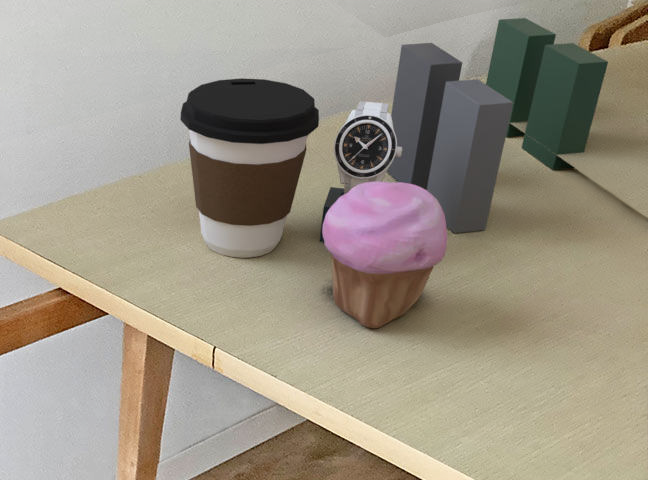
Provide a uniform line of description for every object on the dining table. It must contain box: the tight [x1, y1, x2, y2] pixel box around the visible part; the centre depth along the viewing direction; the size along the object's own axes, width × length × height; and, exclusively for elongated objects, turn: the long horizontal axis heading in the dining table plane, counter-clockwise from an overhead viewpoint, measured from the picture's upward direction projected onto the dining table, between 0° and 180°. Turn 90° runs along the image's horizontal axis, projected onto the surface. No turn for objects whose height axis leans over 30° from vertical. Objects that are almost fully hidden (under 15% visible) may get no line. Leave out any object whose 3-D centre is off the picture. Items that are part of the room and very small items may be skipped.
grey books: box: [386, 42, 513, 234], centre depth 95 cm, size 15×3×12 cm, turn 14°
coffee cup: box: [179, 77, 320, 259], centre depth 87 cm, size 11×11×12 cm
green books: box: [485, 17, 609, 171], centre depth 107 cm, size 15×3×10 cm, turn 14°
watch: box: [319, 100, 402, 243], centre depth 89 cm, size 6×8×11 cm
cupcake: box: [322, 181, 448, 329], centre depth 79 cm, size 9×9×10 cm
